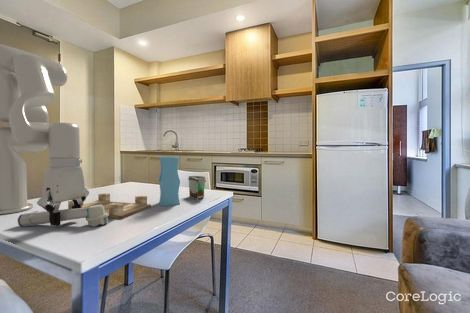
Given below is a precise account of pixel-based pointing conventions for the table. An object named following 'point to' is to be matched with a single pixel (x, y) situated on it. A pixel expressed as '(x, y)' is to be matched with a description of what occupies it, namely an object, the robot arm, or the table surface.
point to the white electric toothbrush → (67, 216)
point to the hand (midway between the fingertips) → (66, 221)
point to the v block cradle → (117, 206)
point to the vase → (169, 181)
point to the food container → (196, 187)
